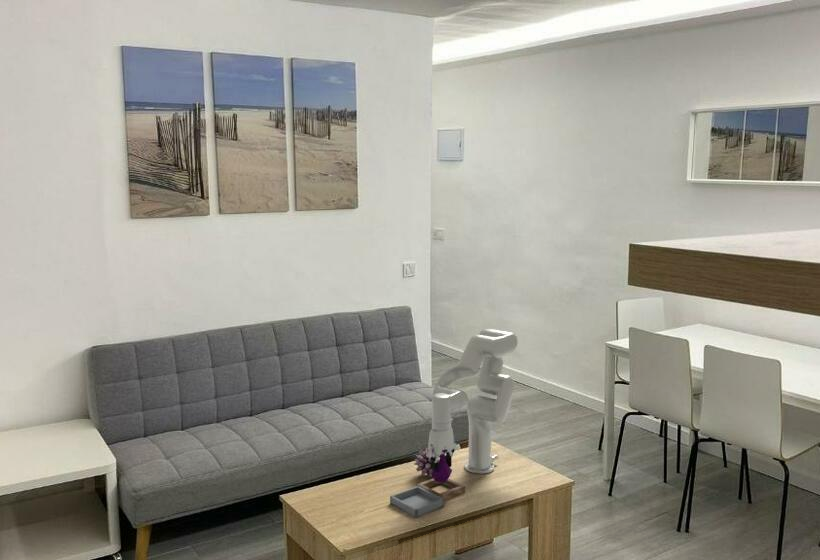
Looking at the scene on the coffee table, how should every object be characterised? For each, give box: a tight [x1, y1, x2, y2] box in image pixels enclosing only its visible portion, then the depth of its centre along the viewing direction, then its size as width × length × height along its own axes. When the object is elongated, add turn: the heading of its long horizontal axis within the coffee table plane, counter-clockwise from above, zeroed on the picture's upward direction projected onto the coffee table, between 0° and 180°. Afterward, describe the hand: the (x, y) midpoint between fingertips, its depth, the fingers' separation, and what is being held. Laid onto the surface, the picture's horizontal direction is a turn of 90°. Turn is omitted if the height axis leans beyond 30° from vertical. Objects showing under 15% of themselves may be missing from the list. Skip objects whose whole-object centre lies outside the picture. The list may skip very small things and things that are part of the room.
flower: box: [413, 447, 440, 478], centre depth 306 cm, size 12×12×12 cm
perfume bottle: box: [431, 446, 453, 483], centre depth 291 cm, size 8×8×18 cm
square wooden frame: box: [415, 477, 466, 501], centre depth 292 cm, size 14×14×2 cm
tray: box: [389, 485, 445, 518], centre depth 281 cm, size 14×15×3 cm
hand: (441, 467), depth 292 cm, fingers closed on perfume bottle, 6 cm apart
